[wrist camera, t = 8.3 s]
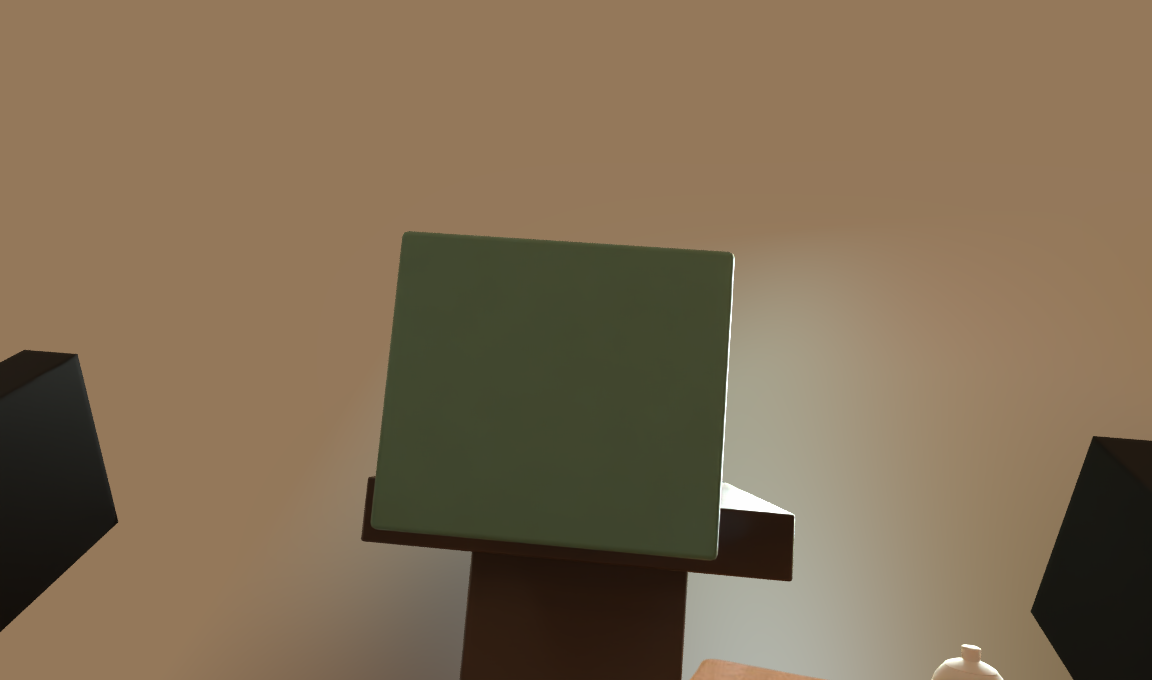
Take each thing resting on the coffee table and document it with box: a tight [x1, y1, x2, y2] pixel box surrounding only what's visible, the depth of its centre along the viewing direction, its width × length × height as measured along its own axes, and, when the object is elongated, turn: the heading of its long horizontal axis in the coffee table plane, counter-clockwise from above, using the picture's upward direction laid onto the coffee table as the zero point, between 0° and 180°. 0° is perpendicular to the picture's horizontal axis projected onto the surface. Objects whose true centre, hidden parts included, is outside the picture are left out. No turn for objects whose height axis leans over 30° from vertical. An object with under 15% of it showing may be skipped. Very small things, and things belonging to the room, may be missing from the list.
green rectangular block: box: [371, 231, 735, 561], centre depth 20 cm, size 20×4×4 cm, turn 176°
